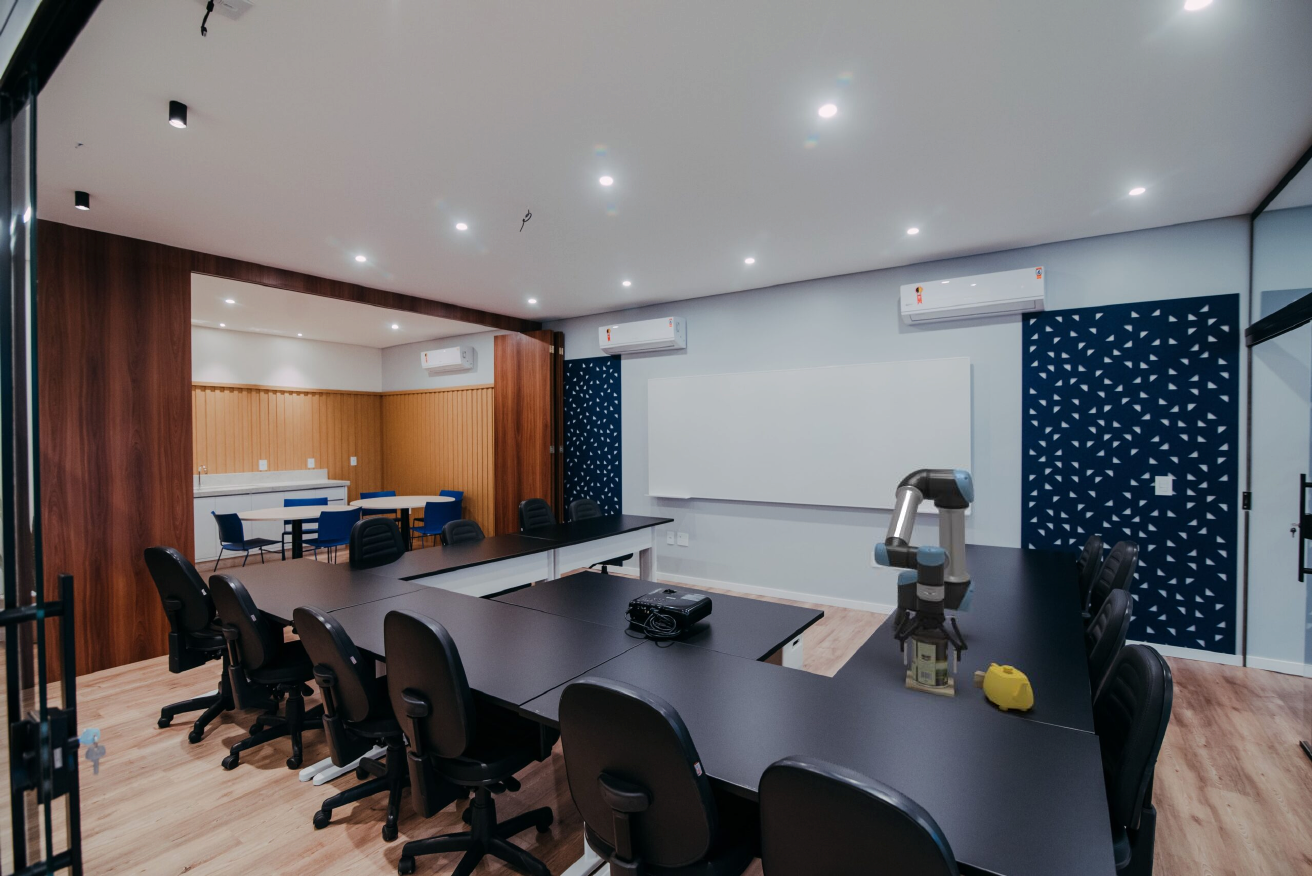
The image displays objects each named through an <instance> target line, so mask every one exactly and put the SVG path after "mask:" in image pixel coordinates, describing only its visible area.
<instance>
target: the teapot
mask: <svg viewBox="0 0 1312 876" xmlns="http://www.w3.org/2000/svg"><path fill="white" fill-rule="evenodd" d="M1002 666H1003V667H1002ZM1013 667H1014V666H1013ZM1013 667H1011V666H1010V665H1007V664H1006V665H1005V664H1004V665H1001V666H999V665H998V664H997V663H994V662H992V663H990V666H989V667H988V669H987V671H986V672H985V673H986V675H985V678H984V683H983V691H984V694H985V695H986V697H987V698H988V700H989V701H991V702H992V703H995V704H996V705H999V706H998V709H1000V711H1001V710H1002V711H1008V710H1009V709H1017V710H1019V711H1023V712H1027V711H1028V709H1030V708H1032V706H1033V705H1034V694H1033V693H1034V692H1033V689H1032V686H1031V683H1030V681H1029V678H1028V677H1027V676H1026V675H1025V674H1024V673H1023V672H1021V671H1020V670H1018V669H1016V668H1015V667H1014V668H1015V669H1014V668H1013Z"/></svg>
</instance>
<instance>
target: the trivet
mask: <svg viewBox="0 0 1312 876" xmlns="http://www.w3.org/2000/svg"><path fill="white" fill-rule="evenodd" d="M911 677H912V669H910V670H909V669H907V672H906V678H905V687H904V688H905V689H908V690H913V691H918V692H922V693H923V692H924V693H929V694H934V695H940V696H944V697H949V698H955V685H954V677H950V676H948V686H947V687H946V688H941V689H935V688H928V687H924V686H921V685H918V684H916V683H915V682H913V681H912V679H911Z"/></svg>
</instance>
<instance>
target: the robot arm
mask: <svg viewBox="0 0 1312 876" xmlns="http://www.w3.org/2000/svg"><path fill="white" fill-rule="evenodd" d="M974 493H975V490H974V484H973V480H972V476H971V474H970V473H969V471H966V470H962V469H961V470H960V469H956V468H955V469H951V468H950V469H948V468H947V469H945V468H943V469H942V468H941V469H940V468H938V469H937V468H921V469H918V470H914V471H913V472H910V473H909V474H908V475H906V476H905V477H904V478H902V480H901V481H900V483H899V484H898V485H897V487H896V491H895V494H894V495H895V499H896V501H895V504H894V508H893V512H892V515H891V519H890V523H889V526H888V529H887V532H886V537H885V540H884V542H877V543H876V545H875V547H874V553H873V554H874V555H873V556H874V557H873V558H874V561H875V563H876V564H877V565H879V566H884V567H887V568H888V567H889V568H897V569H905V570H904V571H901V572H899V574H898V575H897V583H896V585H897V602H896V603H897V606H896V607H897V609H896V612H895V614H894V618H893V620H892V629H893V630H894V631H895V633H894V636H893V639H894V640H897V641H899V643H900V644H899V646H900V647H899V651H900V653H903V664H904V665H906V666H907V664H908V639H909V638H910V637H912V636H911V635H912V634H913V633H914V632H915V631H918V630H926V631H933V632H936V630H939V631H940V633H941V634H943V635H945V636H946V638H947V639H948V640H949V641H948V642H949V643H950V644H951V645H952V647H954V648H953V673H955V674H957V671H958V670H957V668H958V667H957V664H958V663H957V662H959V663H960V662H961V661H962V651H967V650H968V649H969V645H968V643H967V642H966V640H965V639H964V636H963V634H962V632H961V629H960V627H959V626H958V625H957V620H956V619H957V618H956V616H955V615H953V614H952V615H951V616H947V615H945V610H948V611H954V612H964V613H967V612H970V610H972V609H971V608H972V605H973V600H974V592H975V586H976V582H975V581H973V580H971V575H970V574H969V573H968V572H967V571H966V517H965V515H966V513H965V511H967V510H968V509H969V508H970V504H971V503H974V501H975V494H974ZM924 500H927V501H933V506H934V507H935V509H937V510H938V541H939V546H934V545H921V546H914V545H910V543H911V538H912V534H913V531H914V530H913V529H914V526H915V521H916V518H917V514H918V510H919V509H918V508H919V505H921V504H922V503H923V501H924ZM945 622H947V623H948V624H950V625H951V628H952V629H953V631H954V632H955V635H956V637H957V639H958V641H959V642H958V641H957V640H956V639H955V638H954V636H953V635H952V634H951V633H950V631H948V629H947V628H946V626H945V625H944V623H945ZM901 634H902V635H901ZM959 643H960V644H959Z"/></svg>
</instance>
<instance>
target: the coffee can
mask: <svg viewBox="0 0 1312 876" xmlns="http://www.w3.org/2000/svg"><path fill="white" fill-rule="evenodd" d="M910 637H911V667H912V669H911V671H912V677H911V679H912V681H913V682H915V683H916V684H918V685H921V686H924V687H928V688H935V689H941V688H946V687H947V686H948V677H949V642H950V641H949V640H948V639H947V638H946V636H945V635H944V634H943V633H942V632H937V631H935V632H933V631H926V630H918V631H915V632H914V633H913V634H912V635H911V636H910Z"/></svg>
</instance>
